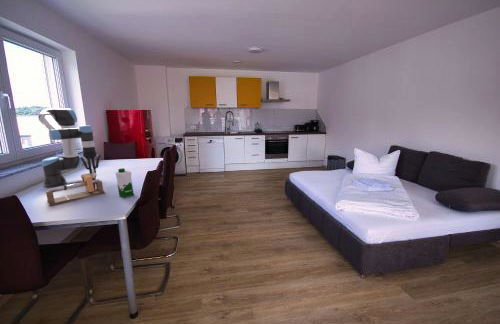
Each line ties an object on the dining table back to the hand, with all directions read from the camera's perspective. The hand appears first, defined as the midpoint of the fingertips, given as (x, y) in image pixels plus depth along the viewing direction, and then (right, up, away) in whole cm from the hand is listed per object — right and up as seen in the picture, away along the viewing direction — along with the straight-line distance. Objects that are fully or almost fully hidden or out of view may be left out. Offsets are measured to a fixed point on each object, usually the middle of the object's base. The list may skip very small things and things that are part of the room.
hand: (93, 177), depth 172 cm
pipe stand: (-8, -14, -6) cm, 17 cm away
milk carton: (+27, -13, -4) cm, 30 cm away
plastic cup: (-11, -10, +13) cm, 20 cm away
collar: (-2, -9, -1) cm, 10 cm away
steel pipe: (-8, -7, -7) cm, 13 cm away
